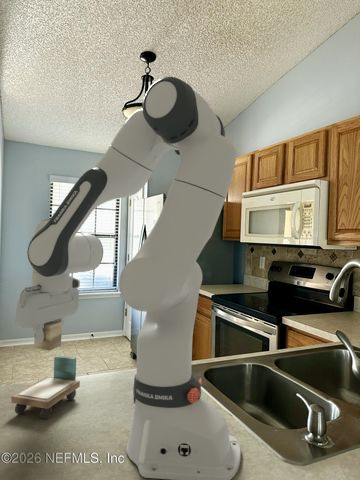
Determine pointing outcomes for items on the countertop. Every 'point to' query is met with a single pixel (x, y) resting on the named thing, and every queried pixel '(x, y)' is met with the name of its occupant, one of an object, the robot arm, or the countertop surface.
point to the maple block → (50, 336)
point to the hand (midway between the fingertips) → (48, 338)
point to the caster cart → (49, 388)
